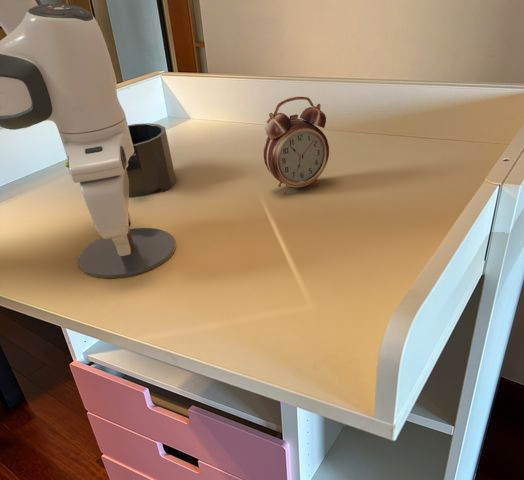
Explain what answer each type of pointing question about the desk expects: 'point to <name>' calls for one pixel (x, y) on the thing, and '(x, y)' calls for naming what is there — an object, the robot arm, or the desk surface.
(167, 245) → the lid
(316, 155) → the alarm clock
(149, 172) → the pot
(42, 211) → the desk surface
